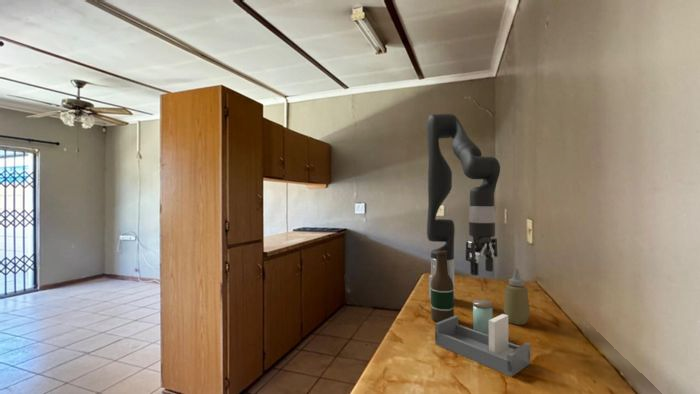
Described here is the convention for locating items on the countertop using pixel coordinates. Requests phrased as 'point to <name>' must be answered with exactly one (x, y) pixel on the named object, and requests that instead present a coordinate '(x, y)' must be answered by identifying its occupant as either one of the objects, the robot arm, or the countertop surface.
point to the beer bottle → (442, 290)
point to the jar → (482, 315)
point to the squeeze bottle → (516, 300)
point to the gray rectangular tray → (479, 347)
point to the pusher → (499, 336)
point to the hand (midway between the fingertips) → (482, 273)
